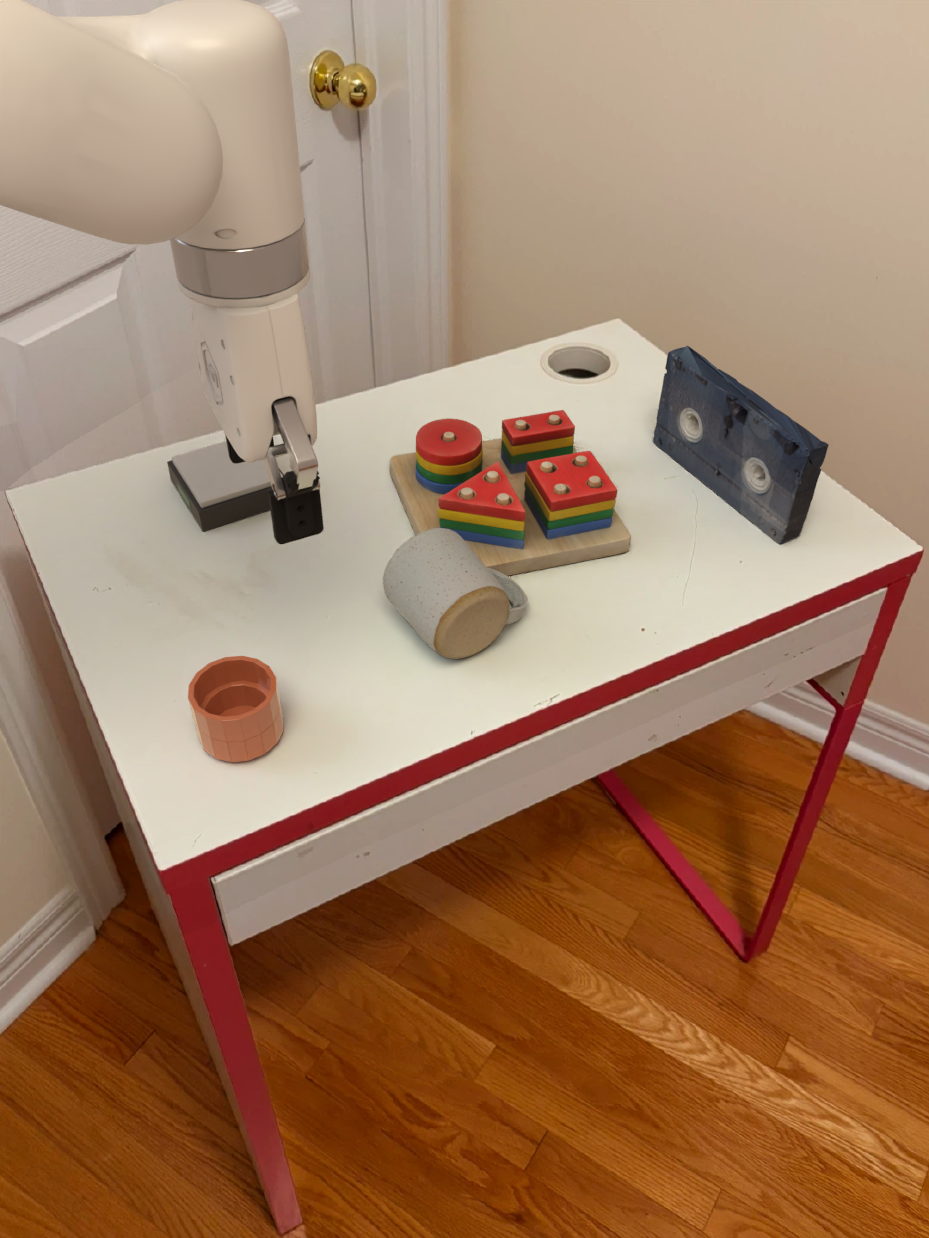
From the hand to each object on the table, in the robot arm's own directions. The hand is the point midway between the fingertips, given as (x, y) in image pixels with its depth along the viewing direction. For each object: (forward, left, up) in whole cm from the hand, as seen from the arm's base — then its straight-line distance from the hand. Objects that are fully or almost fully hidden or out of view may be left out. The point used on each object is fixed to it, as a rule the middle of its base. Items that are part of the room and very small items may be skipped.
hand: (275, 495), depth 71 cm
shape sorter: (+11, +22, -15) cm, 29 cm away
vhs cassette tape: (+30, +31, -16) cm, 46 cm away
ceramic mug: (+11, +7, -15) cm, 20 cm away
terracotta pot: (-1, -9, -15) cm, 18 cm away
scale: (-13, +18, -15) cm, 27 cm away
